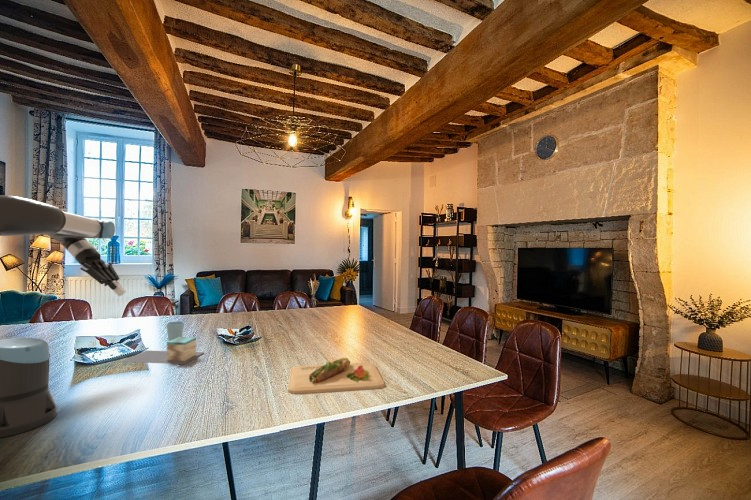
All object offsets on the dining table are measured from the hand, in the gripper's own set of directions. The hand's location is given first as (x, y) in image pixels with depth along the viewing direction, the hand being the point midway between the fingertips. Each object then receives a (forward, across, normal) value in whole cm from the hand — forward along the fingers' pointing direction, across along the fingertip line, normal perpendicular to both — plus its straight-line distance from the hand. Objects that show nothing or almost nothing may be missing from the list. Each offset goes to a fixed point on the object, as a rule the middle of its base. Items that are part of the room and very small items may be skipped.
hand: (122, 293), depth 134 cm
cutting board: (+87, +5, +43) cm, 97 cm away
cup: (+23, -32, -20) cm, 44 cm away
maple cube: (+29, -10, -1) cm, 31 cm away
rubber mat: (+30, -10, -13) cm, 34 cm away
